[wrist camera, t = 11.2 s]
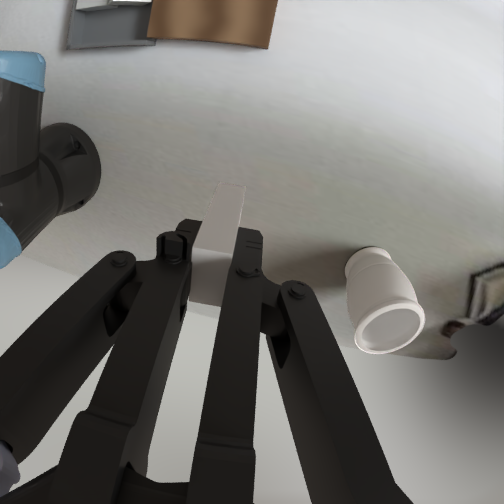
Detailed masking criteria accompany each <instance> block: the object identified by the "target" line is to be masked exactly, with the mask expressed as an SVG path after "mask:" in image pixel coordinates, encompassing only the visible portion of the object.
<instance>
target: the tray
mask: <svg viewBox="0 0 504 504" xmlns="http://www.w3.org/2000/svg"><path fill="white" fill-rule="evenodd" d="M152 4H153V0H151V2H150V3H148V4H146V5H144V6H135V5H118V8H113V9H104V10H96V11H83V10H76V5H77V0H74V2H73V7H72V13H71V19H70V26H69V33H68V41H67V49H83V48H95V47H110V46H155V43H156V39H154V38H148V37H147V32H148V26H149V20H150V15H151V9H152Z"/></svg>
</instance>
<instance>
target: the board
mask: <svg viewBox="0 0 504 504" xmlns="http://www.w3.org/2000/svg"><path fill="white" fill-rule="evenodd" d="M277 3H278V0H153V4H152V9H151V15H150V20H149V26H148V32H147V37H148V38H154V39H178V40H196V41H209V42H219V43H228V44H237V45H244V46H251V47H257V48H263V49H268V46H269V41H270V36H271V32H272V27H273V22H274V17H275V12H276V7H277Z"/></svg>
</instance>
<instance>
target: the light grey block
mask: <svg viewBox="0 0 504 504" xmlns="http://www.w3.org/2000/svg"><path fill="white" fill-rule="evenodd" d="M113 8H118V5H108V0H77V5H76V10H83V11H96V10H104V9H113Z"/></svg>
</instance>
